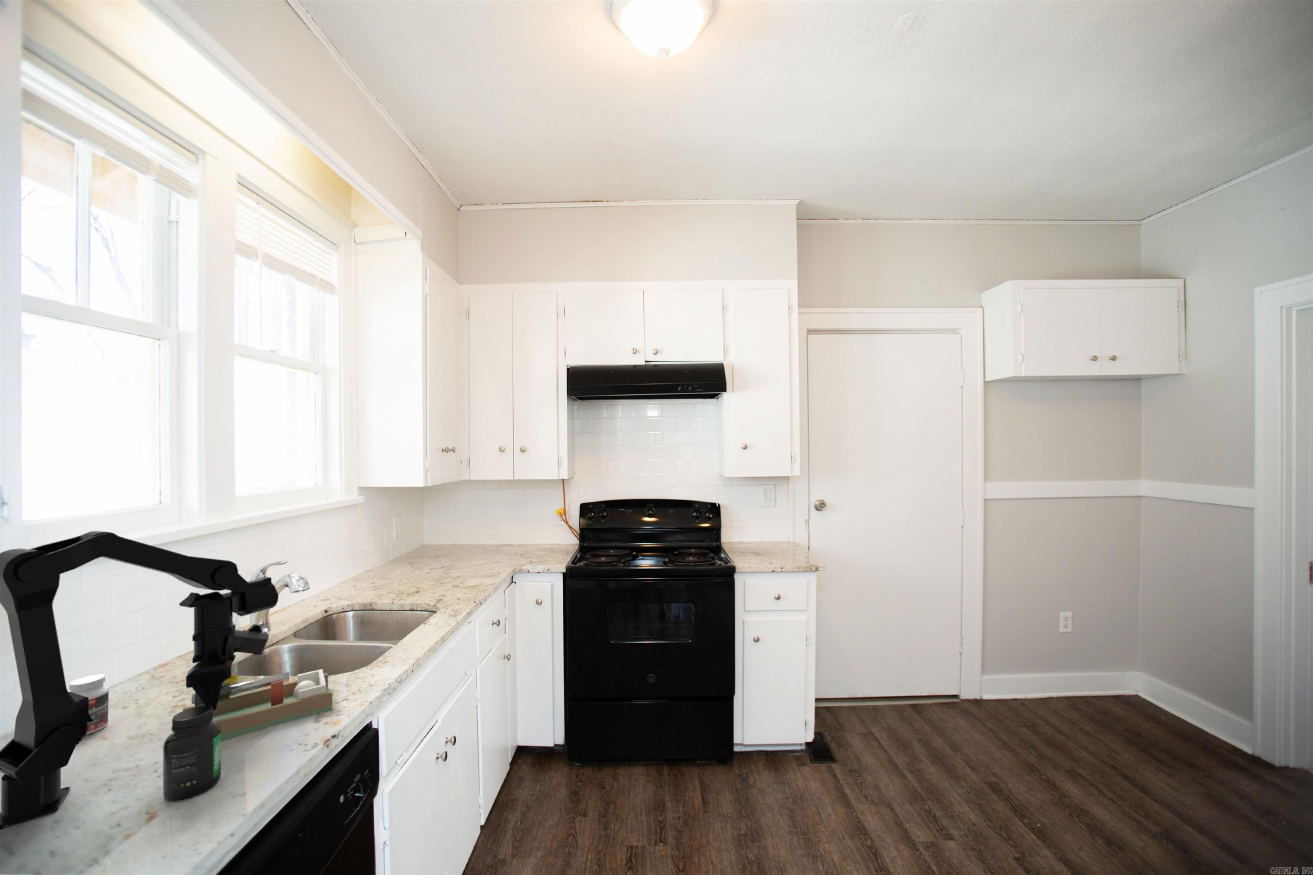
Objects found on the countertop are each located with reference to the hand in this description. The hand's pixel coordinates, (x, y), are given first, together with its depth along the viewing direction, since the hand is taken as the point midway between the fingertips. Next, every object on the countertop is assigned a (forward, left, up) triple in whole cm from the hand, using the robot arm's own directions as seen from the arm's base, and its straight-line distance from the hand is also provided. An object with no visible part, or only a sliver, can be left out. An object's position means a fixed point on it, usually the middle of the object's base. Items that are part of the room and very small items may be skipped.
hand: (213, 704), depth 98 cm
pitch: (0, -7, -5) cm, 8 cm away
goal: (0, -16, -4) cm, 16 cm away
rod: (0, -4, -3) cm, 5 cm away
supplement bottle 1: (-21, +1, -5) cm, 22 cm away
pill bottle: (+16, +20, -5) cm, 26 cm away
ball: (0, -15, -2) cm, 15 cm away
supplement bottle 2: (+18, 0, -5) cm, 19 cm away
